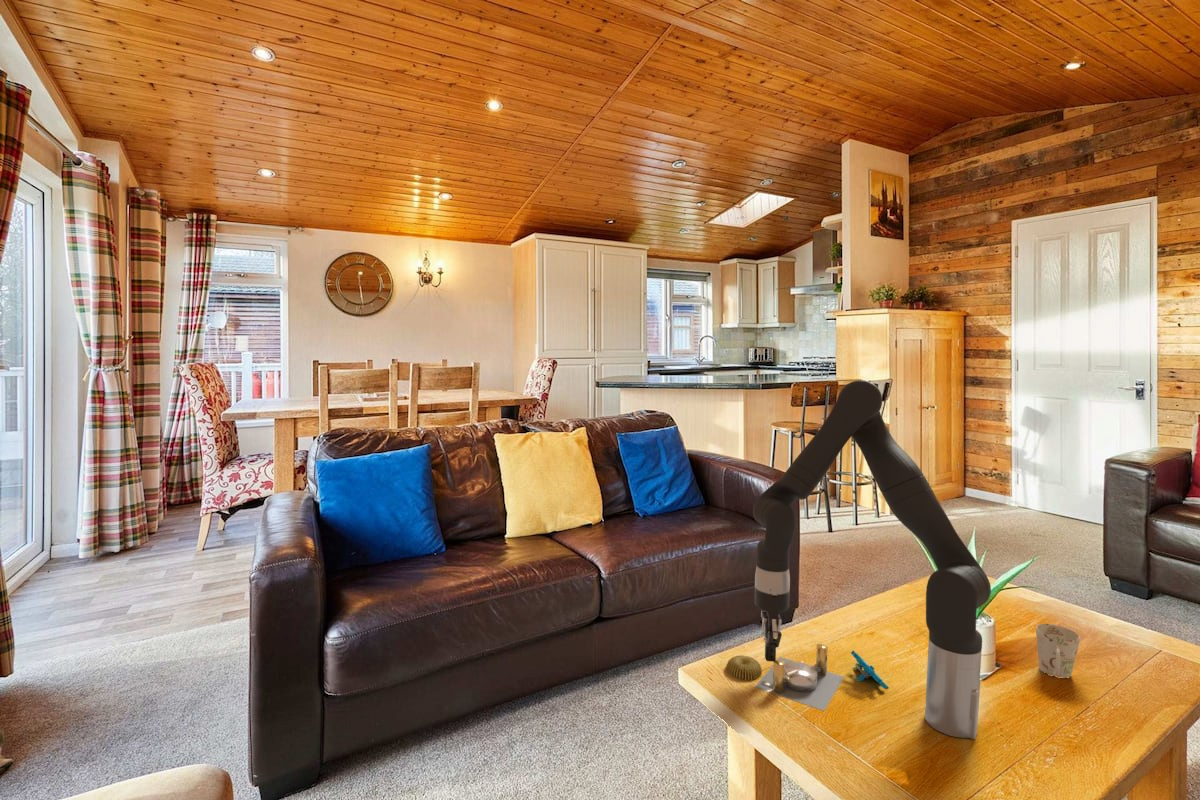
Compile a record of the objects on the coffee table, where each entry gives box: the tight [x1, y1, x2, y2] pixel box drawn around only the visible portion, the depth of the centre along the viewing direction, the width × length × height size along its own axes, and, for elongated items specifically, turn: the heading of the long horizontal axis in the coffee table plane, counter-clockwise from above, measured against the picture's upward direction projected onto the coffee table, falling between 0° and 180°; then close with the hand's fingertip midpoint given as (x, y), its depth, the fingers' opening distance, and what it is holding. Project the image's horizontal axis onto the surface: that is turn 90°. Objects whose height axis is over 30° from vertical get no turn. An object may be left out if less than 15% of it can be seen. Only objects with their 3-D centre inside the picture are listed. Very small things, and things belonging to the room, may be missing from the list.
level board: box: [755, 656, 845, 712], centre depth 136 cm, size 15×18×2 cm
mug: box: [1035, 623, 1081, 678], centre depth 141 cm, size 8×13×10 cm, turn 148°
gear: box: [850, 650, 889, 689], centre depth 137 cm, size 11×6×10 cm
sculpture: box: [726, 655, 763, 681], centre depth 141 cm, size 8×4×8 cm
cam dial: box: [773, 643, 829, 692], centre depth 136 cm, size 16×8×6 cm, turn 121°
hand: (770, 659), depth 137 cm, fingers closed
